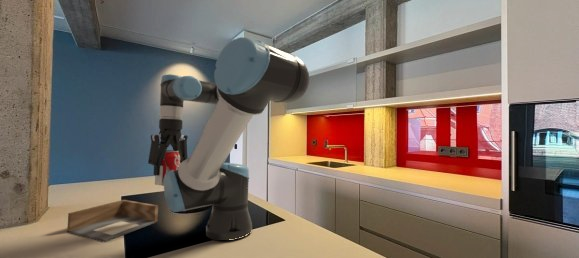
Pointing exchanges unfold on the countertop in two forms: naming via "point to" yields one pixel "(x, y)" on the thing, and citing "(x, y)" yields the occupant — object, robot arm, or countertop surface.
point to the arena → (112, 219)
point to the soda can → (170, 162)
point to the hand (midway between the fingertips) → (168, 182)
